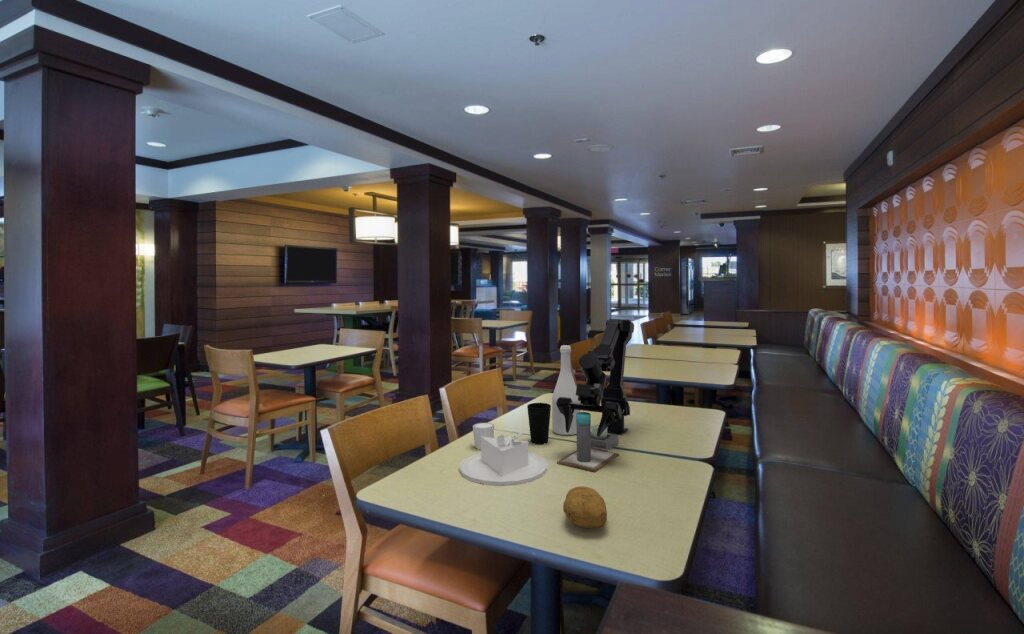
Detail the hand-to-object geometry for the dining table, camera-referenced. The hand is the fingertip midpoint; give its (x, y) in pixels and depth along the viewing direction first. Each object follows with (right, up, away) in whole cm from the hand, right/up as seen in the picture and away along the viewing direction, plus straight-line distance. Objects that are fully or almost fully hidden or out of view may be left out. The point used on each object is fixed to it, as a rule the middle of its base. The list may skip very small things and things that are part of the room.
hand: (582, 433), depth 147 cm
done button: (+8, -5, +16) cm, 19 cm away
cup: (-11, -8, +21) cm, 25 cm away
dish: (-22, -10, -1) cm, 25 cm away
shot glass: (-29, -8, +17) cm, 35 cm away
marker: (+1, -8, +2) cm, 8 cm away
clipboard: (+3, -8, +4) cm, 10 cm away
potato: (-4, -12, -34) cm, 36 cm away
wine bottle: (-1, -7, +32) cm, 32 cm away
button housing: (+8, -7, +17) cm, 20 cm away
